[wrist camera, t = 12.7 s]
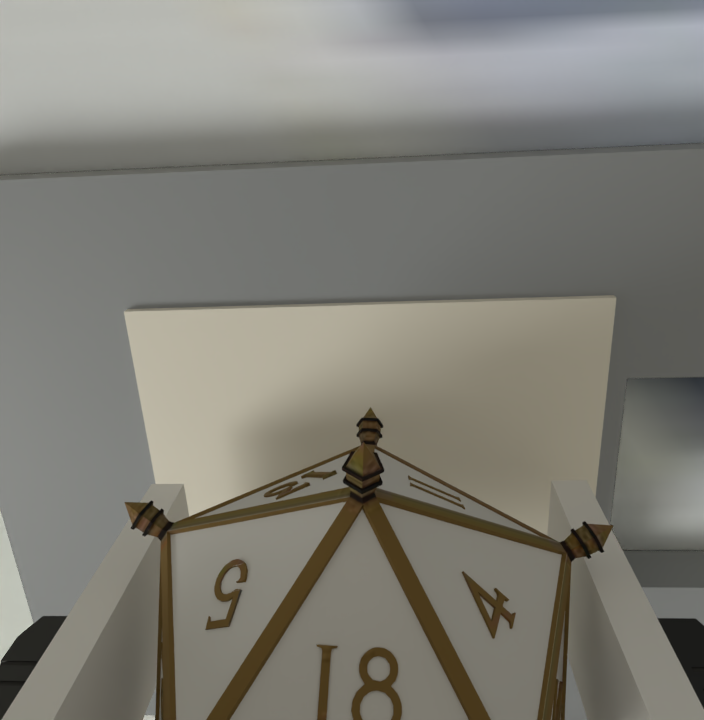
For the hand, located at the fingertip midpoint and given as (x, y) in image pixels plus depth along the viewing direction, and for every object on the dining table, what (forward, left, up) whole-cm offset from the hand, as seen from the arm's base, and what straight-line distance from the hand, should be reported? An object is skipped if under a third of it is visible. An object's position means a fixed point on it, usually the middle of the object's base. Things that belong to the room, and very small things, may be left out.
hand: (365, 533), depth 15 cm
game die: (0, 0, 0) cm, 0 cm away
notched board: (0, 0, -3) cm, 3 cm away
